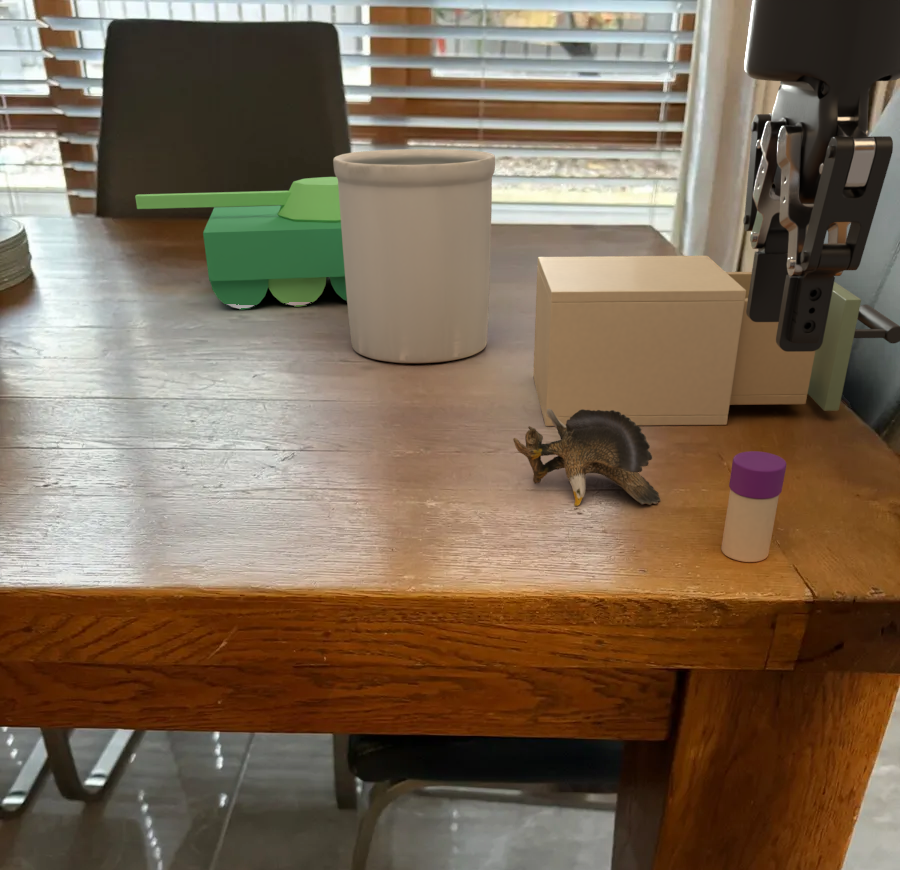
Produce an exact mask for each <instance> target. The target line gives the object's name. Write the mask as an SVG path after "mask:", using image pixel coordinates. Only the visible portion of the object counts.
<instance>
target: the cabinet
mask: <svg viewBox="0 0 900 870" xmlns="http://www.w3.org/2000/svg"><path fill="white" fill-rule="evenodd" d="M726 272H727V271H725V270H724V269H723V268H722V267H721V266H720V265H718V264H717V263H716V262H715V261H714V260H713V259H712V258H710V257H709V256H708V255H626V256H625V255H621V256H619V255H618V256H617V255H615V256H613V255H612V256H611V255H610V256H607V255H606V256H602V255H601V256H599V255H598V256H538V257H537V270H536V296H535V317H534V318H535V321H534V323H535V324H534V349H533V371H532V373H533V374H532V375H533V376H532V378H533V381H534V384H535V390H536V394H537V398H538V401H539V405H540V410H541V414H542V418H543V421H544V426H545V427H555V426H554V425H553V423H552V420H551V419H550V418H549V416H548V415H547V409H551V410H552V411H553V412H554V414H555V415H556V417H557V419H558V420H559V421H560V422H561V423H562V424H564V425H565V426H566V422H567V420H569V419H570V417H572V416H573V415H574V414H575V413H577V412H578V411H579V410H582V409H584V410H591V411H593V410H595V411H597V410H601V411H611V410H614V411H616V412H620V413H621V415H623V414H624V415H625V416H626V417H629V418H630V419H631V421H633V422H635V424H636V426H726V425H728V418H729V413H730V412H729V411H730V406H731V405H730V398H731V391H732V385H733V378H734V371H735V364H736V357H737V350H738V343H739V336H740V329H741V323H742V316H743V309H744V300H745V295H746V290H745V289H744V288H743V287H742V286H740V285H739V284H738V283H737V282H736V281H735V280H734V279H733V278H732V277H730V276H729V275H728V274H727V273H726Z"/></svg>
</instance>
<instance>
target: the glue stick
mask: <svg viewBox="0 0 900 870" xmlns="http://www.w3.org/2000/svg"><path fill="white" fill-rule="evenodd" d="M730 470H731V471H730V476H729V481H728V482H729V484H728V487H729V494H728V501H727V508H726V513H725V521H724V529H723V534H722V541H721V546H720V547H721V548H720V549H721V552H722V554H723V555H725V556H726V557H727V558H729V559H731V560H734V561H737V562H738V561H739V562H743V563H755V562H756V563H757V562H762V561H764V560H766V558H767V557H769V554H770V547H771V542H772V537H773V532H774V526H775V520H776V514H777V510H778V503H779V500H780V499H779V498H780V495H781V493H782V491H783V487H784V482H785V481H784V480H785V475H786V470H787V461H786V460H785V459H784V458H783V457H781V456H779V455H776V454H774V453H770V452H765V451H759V450H758V451H757V450H756V451H755V450H754V451H753V450H751V451H742V452H739V453H737V454H735V455H734V456H733V459H732V464H731V469H730Z"/></svg>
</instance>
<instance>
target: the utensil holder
mask: <svg viewBox="0 0 900 870" xmlns="http://www.w3.org/2000/svg"><path fill="white" fill-rule="evenodd" d="M332 163H333V164H332V165H333V172H334V175H335V177H337V179H338V189H339V203H340V215H341V230H342V243H343V256H344V269H345V281H346V294H347V301H346V303H347V315H348V323H349V334H350V342H351V347H352V349H353V350H354V352H356V353H357V354H358V355H361V356H363V357H365V358H368V359H370V360H371V359H372V360H377V361H381V362H388V363H396V364H431V363H432V364H433V363H444V362H450V361H456V360H461V359H465V358H469V357H472V356H474V355H477V354H478V353H480V352H482V351H483V350H484V349H485V348H486V347H487V344H488V332H489V331H488V328H489V311H490V288H491V287H490V284H491V248H492V247H491V244H492V243H491V241H492V240H491V239H492V211H493V209H492V206H493V205H492V204H493V203H492V200H493V176H494V173H495V170H496V156H495V154H494V153H491V152H488V151H480V150H470V149H469V150H468V149H453V148H451V149H450V148H448V149H447V148H446V149H445V148H443V149H442V148H426V149H425V148H420V149H419V148H411V149H410V148H409V149H406V148H404V149H403V148H402V149H379V150H378V149H377V150H363V151H362V150H361V151H352V152H347V153H342V154H339V155H336V156H335V157H333V160H332Z"/></svg>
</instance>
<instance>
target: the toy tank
mask: <svg viewBox="0 0 900 870" xmlns="http://www.w3.org/2000/svg"><path fill="white" fill-rule="evenodd" d="M134 199H135V203H136V204H135V206H136V209H137V210H152V209H153V210H154V209H155V210H156V209H184V208H185V209H190V208H191V209H193V208H194V209H195V208H213V209H212V211H211V214H210V215H209V218H208V221H207V222H206V225H205V227H204V230H203V232H202V236H203V243H204V251H205V260H206V267H207V274H208V282H209V283H210V286H211V289H212V291H213V293H214V295H215V296H216V298H217V299H218V300H219V301H220V302H221V303H222V304H223V305H225V304H236V305H238V304H239V305H256V306H257V305H259V304H260V303H261V302H262V301H263V299H264V298H265V297H266V294H267V292H268V290H269V291H270V293H271V295H272V296H273V297H274V298H276V300H277V301H279V302H280V303H282V304H284V303H289V302H312V303H314V302H315V301H317V300H318V298H320V296H321V295H322V294H323V292H324V289H325V287H326V284H327V278H329V279H330V284H331V286H332V288H333V290H334V292H335V294H336V295H338V296H339V297H340V298H341V299H342V300H344V301H346V302H347V294H346V281H345V269H344V256H343V243H342V230H341V215H340V203H339V189H338V179H337V177H336V176H321V177H309V178H308V177H307V178H301V179H298V180H293V182H292V183H291V185H290V187H289V189H288V190H261V191H259V190H258V191H257V190H255V191H224V192H222V191H221V192H219V191H218V192H185V193H182V192H180V193H150V194H149V193H148V194H147V193H146V194H145V193H144V194H142V193H141V194H139V193H138V194H136V195H135V197H134ZM295 307H297V308H299V307H306V305H296V306H295ZM248 309H250V308H241V309H240V310H241V311H243V310H244V311H245V310H248Z"/></svg>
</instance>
